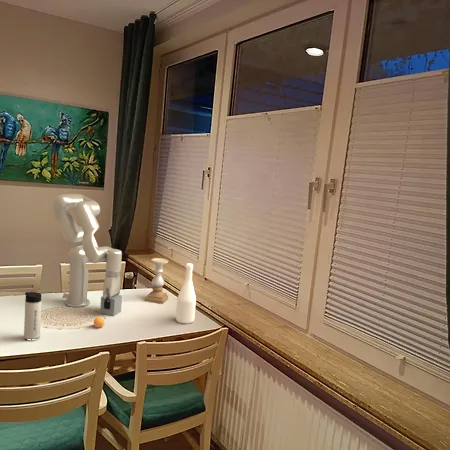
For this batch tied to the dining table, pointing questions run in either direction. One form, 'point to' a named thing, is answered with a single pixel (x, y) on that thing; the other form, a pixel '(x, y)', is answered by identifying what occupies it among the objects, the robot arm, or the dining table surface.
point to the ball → (99, 322)
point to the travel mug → (32, 315)
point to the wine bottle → (186, 299)
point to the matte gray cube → (112, 305)
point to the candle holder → (157, 283)
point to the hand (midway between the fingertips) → (111, 306)
